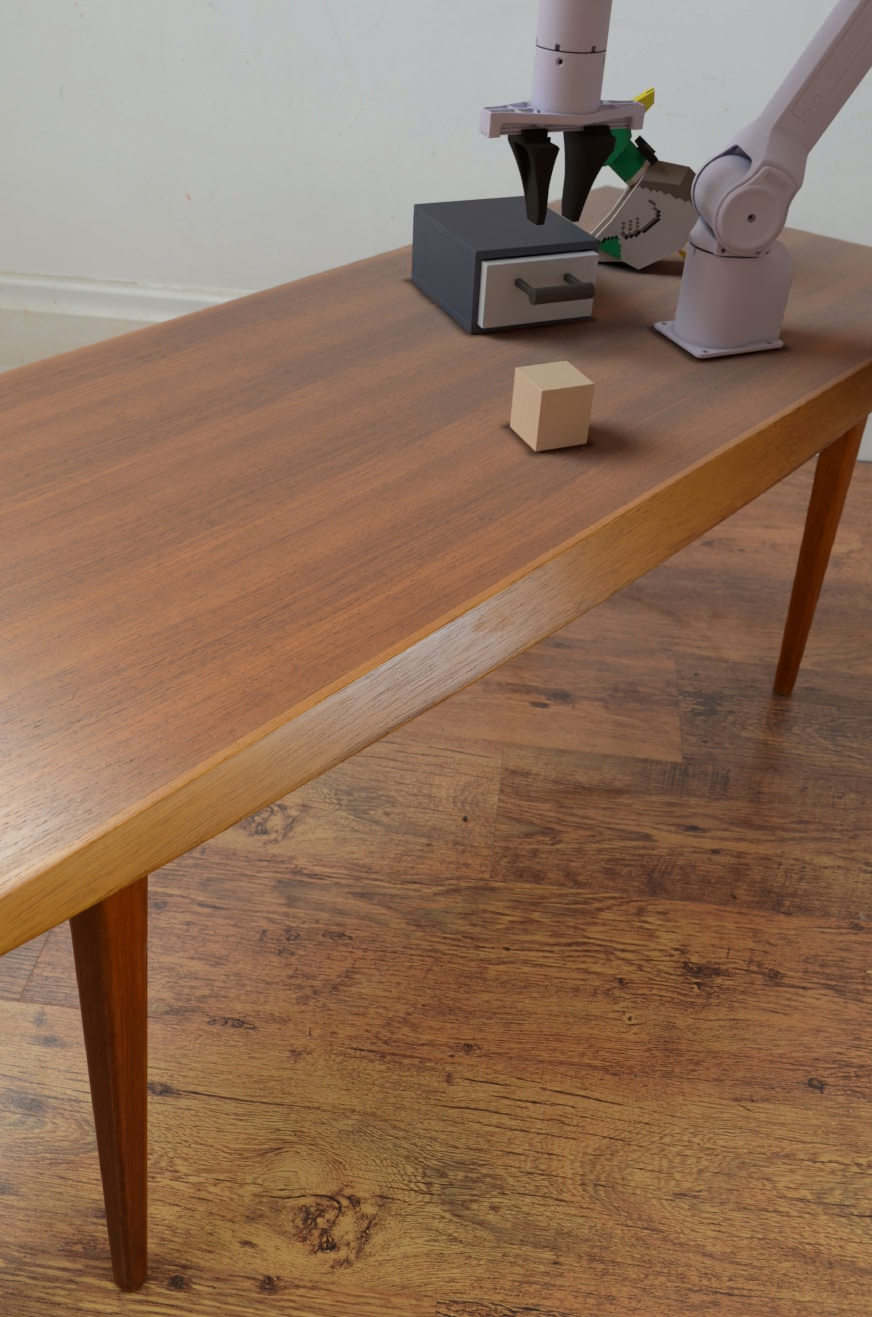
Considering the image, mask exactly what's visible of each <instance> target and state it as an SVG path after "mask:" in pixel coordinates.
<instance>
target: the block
mask: <svg viewBox="0 0 872 1317" xmlns="http://www.w3.org/2000/svg"><path fill="white" fill-rule="evenodd" d="M513 378H514V379H513V380H514V381H513V390H512V400H511V412H510V423H509V427H510V428H511V429H512V430H513V432H514V433H516V435H518V437H520V438H521V439H522V440H523V442H525V443H526V444H527V445H528V446H529V447H530V448H531V449H532V450H533V451H534V452H542V451H549V450H555V449H562V448H567V447H573V446H580V445H586V444H587V443H588V442H587V441H588V435H589V429H590V420H591V416H592V415H591V414H592V407H593V400H594V393H595V386H596V383H595V382H594V381H592V380H591V379H590V378H589V377H587V376H586V374H584V373H582V371H580V370H579V369H578V368H576V367H575V366H574V365H573V364H572V363H570V362H569V361H568V360H561V361H554V362H553V361H552V362H546V363H540V364H532V365H524V366H517V367H515V368H514V377H513Z"/></svg>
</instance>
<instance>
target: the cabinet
mask: <svg viewBox="0 0 872 1317" xmlns="http://www.w3.org/2000/svg"><path fill="white" fill-rule="evenodd" d="M412 219H413V220H412V244H411V245H412V247H411V278H410V279H411V282H412V283H413V284H414V285H415V286H416V287H417V288H418V289H419V290H421V291H422V293H424V294H425V295H426V296H427V297H428V298H429V299H431V300H432V301H433V302H434V303H435V305H436V304H437V306H438V307H439V308H441V309H442V310H443V311H444V312H445V313H446V314H448V315H449V316H450V317H451V318H452V319H453V320H454V321H455V322H457V324H459V325H460V326H461V327H462V328H463V329H464V330H465V331H466V332H468V333H469V334H470V335H473V334H481V333H482V334H483V333H490V332H498V331H508V330H516V329H524V328H531V327H539V326H540V327H541V326H546V325H548V326H549V325H556V324H557V325H558V324H566V323H574V322H581V321H589V320H590V318H591V316H585V317H576V318H568V319H559V320H551V321H542V322H534V323H525V324H517V325H509V326H500V327H492V328H481V327H480V326H479V325H478V324H477V321H478V307H479V293H480V278H481V264H482V261H483V259H492V258H502V257H513V256H523V255H534V254H544V253H554V252H565V251H575V250H579V252H583V251H594V252H596V253H597V254H598V248H599V239H597V238H595V237H594V236H592V235H591V234H590V233H589V232H588V231H586V230H584V229H583V228H581V227H580V226H578V225H577V224H575V223H574V222H571V221H570V220H568V219H566V218H565V217H563V216H562V215H561V214H559V213H557V212H556V211H554V210H552V209H551V208H549V207H548V206H547V214H546V219H545V223H544V225H535V224H534V223H532V222H531V221H529V220H528V219H527V213H526V204H525V196H524V195H515V196H504V197H503V196H502V197H491V198H490V197H489V198H479V199H478V198H476V199H475V198H474V199H464V200H463V199H462V200H452V201H451V200H450V201H449V200H448V201H439V202H437V201H436V202H426V203H425V202H424V203H423V202H422V203H414V204H413V218H412Z"/></svg>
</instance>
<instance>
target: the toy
mask: <svg viewBox="0 0 872 1317" xmlns="http://www.w3.org/2000/svg"><path fill="white" fill-rule="evenodd" d="M655 94H656V93H655V88H654V86H651V87H650V88H648V89H646V90H645V91H644V92H641V93H639V94H638V95H637V96H634V97H633V98H632V99H631V100H634V101H637V102H639V103H641V104H644V105H646V108H645V114H646V113H647V112H648V111H649V110H650V109H651V107H653V105H654V104H655ZM609 134H611V135H613V136H615V137H616V144H615V149H614V151H613V152H612V154H611V155H610V156H609V158H608V159H607V160H606V162H605V164H604V165H603V167H604V168H606V167H609V168H610V169H611V170H612V172H614V173H615V174H616V175H617V176H618V177H619V179H621V180H622V182H624V183H625V184H626V185H627V186H626V187H625V189H624V190H623V192H622V193H621V195H620V197H619V198H618V200H617V201H616V202H615V204H614V205H613V207H612V208H611V210H610V211H609V212H608V214H607V215H606V216H605V217H604V218H603V219H602V220H601V221H600V222H599V223H598V224H597V225H596V226H595V227H594V228H593V229H592V231H591V232H590V233H589V234H591V235H592V236H594V237H595V238H597V239H599V248H598V254H599V259H598V262H610V263H611V262H613V263H614V262H615V263H616V262H618V263H622V262H623V263H626V264H627V265H629V266H630V267H633V268H634V269H637V270H641V269H643V268H645V267H647V266H650V265H651V264H654V263H656V262H659V261H661V260H662V259H664V258H667V257H670V256H671V255H673V254H675V253H678V254H679V255H680V256H681V257H682V258H683V259H684V260H685V259H686V253H687V252H685V251H684V250H682V249H683V248H684V246H685V245H686V244H687V242H689V236H690V232H691V230H692V229H693V228H694V226H695V225H696V223H697V221H698V218H699V214H698V213H697V212H696V210H695V208H694V206H693V203H692V198H691V189H692V183H693V180H694V177H695V175H696V173H697V172H695V171H694V170H693V169H692V168H691V166H687V165H683V164H678V163H673V162H669V161H663V160H659V158H658V157H657V155H656V152H657V151H656V150H655V149H654V148H653V147H652V146H651V145H650V144H649V142H647V141H646V140H645V139H644V138H643V137H642V135H640V134H639V135H638V136H637V138H635V140H634V142H633V141H632V138H633V134H632V130H631V129H629V128H620V129H610V130H609ZM603 167H602V168H603Z"/></svg>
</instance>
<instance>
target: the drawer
mask: <svg viewBox="0 0 872 1317" xmlns="http://www.w3.org/2000/svg"><path fill="white" fill-rule="evenodd" d="M598 259H599V254H597V253H596V252H594V251H583V252H579V250H575V251H565V252H554V253H544V254H534V255H523V256H513V257H502V258H492V259H483V261H482V264H481V278H480V293H479V307H478V321H477V324H478V325H479V326H480V327H481V328H492V327H500V326H509V325H517V324H525V323H534V322H542V321H551V320H559V319H568V318H576V317H585V316H590V317H591V316H592V310H593V305H594V297H595V295H596V282H597V273H598V265H599V261H598Z"/></svg>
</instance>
